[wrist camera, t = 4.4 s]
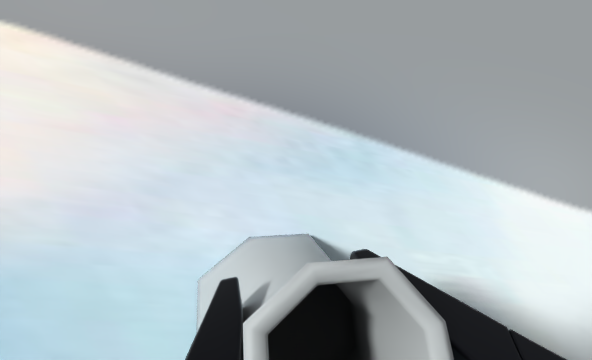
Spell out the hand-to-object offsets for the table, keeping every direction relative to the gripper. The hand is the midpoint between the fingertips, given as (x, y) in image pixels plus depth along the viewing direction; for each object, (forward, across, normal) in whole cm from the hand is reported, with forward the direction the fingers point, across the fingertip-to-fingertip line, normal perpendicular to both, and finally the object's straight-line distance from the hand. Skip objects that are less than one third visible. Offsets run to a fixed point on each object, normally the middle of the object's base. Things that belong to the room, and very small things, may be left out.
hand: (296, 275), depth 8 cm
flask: (+4, 0, +6) cm, 7 cm away
